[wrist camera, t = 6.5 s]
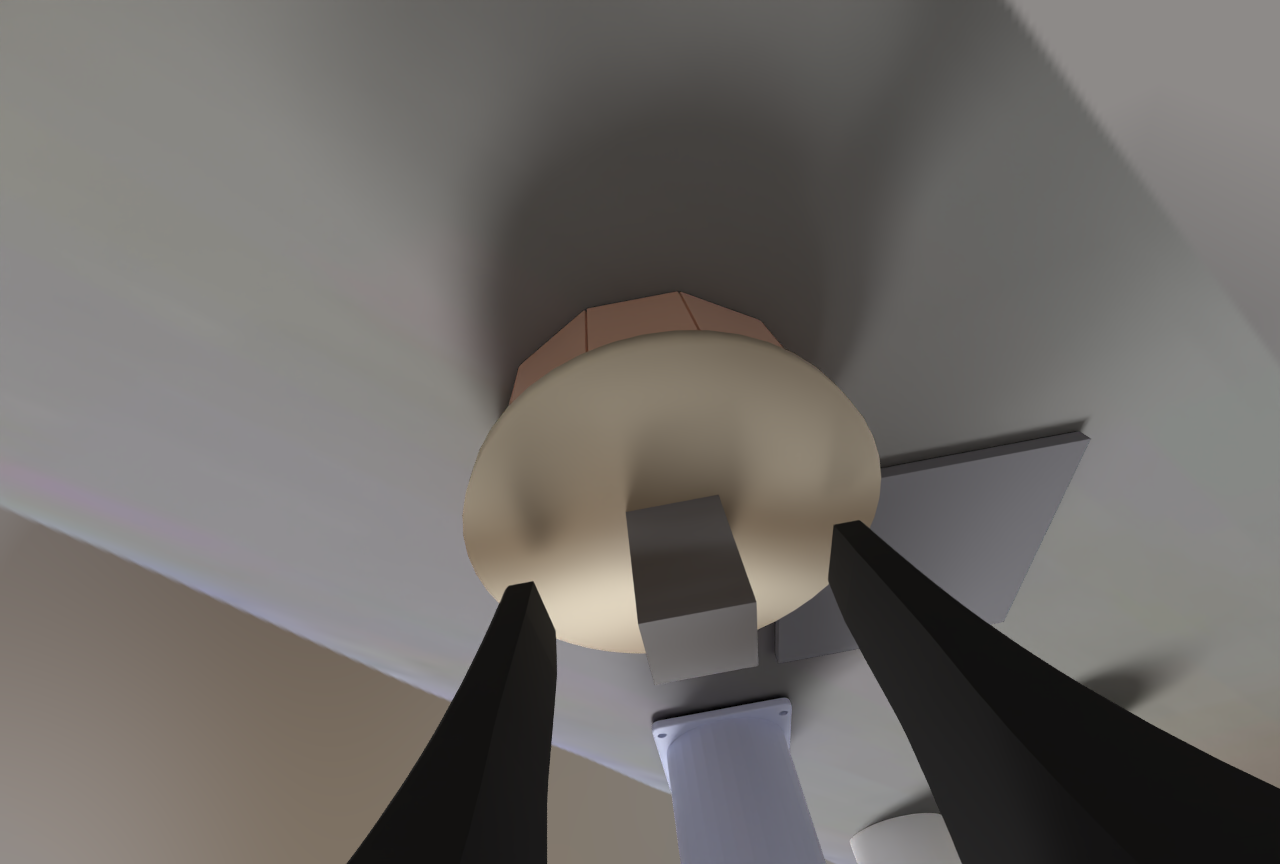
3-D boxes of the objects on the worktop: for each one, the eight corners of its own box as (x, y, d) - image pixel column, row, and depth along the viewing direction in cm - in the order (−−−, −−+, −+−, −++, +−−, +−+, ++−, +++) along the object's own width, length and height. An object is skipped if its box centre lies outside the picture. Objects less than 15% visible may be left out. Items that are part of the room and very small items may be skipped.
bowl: (796, 517, 19) (834, 590, 16) (550, 563, 19) (545, 644, 16) (806, 266, 13) (867, 310, 11) (457, 333, 14) (424, 394, 11)
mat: (996, 613, 25) (1003, 621, 24) (775, 654, 25) (778, 663, 24) (1079, 431, 18) (1090, 438, 18) (776, 488, 18) (781, 496, 18)
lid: (847, 597, 17) (913, 719, 13) (535, 656, 17) (524, 791, 13) (893, 286, 10) (1039, 371, 7) (393, 381, 10) (307, 509, 7)
